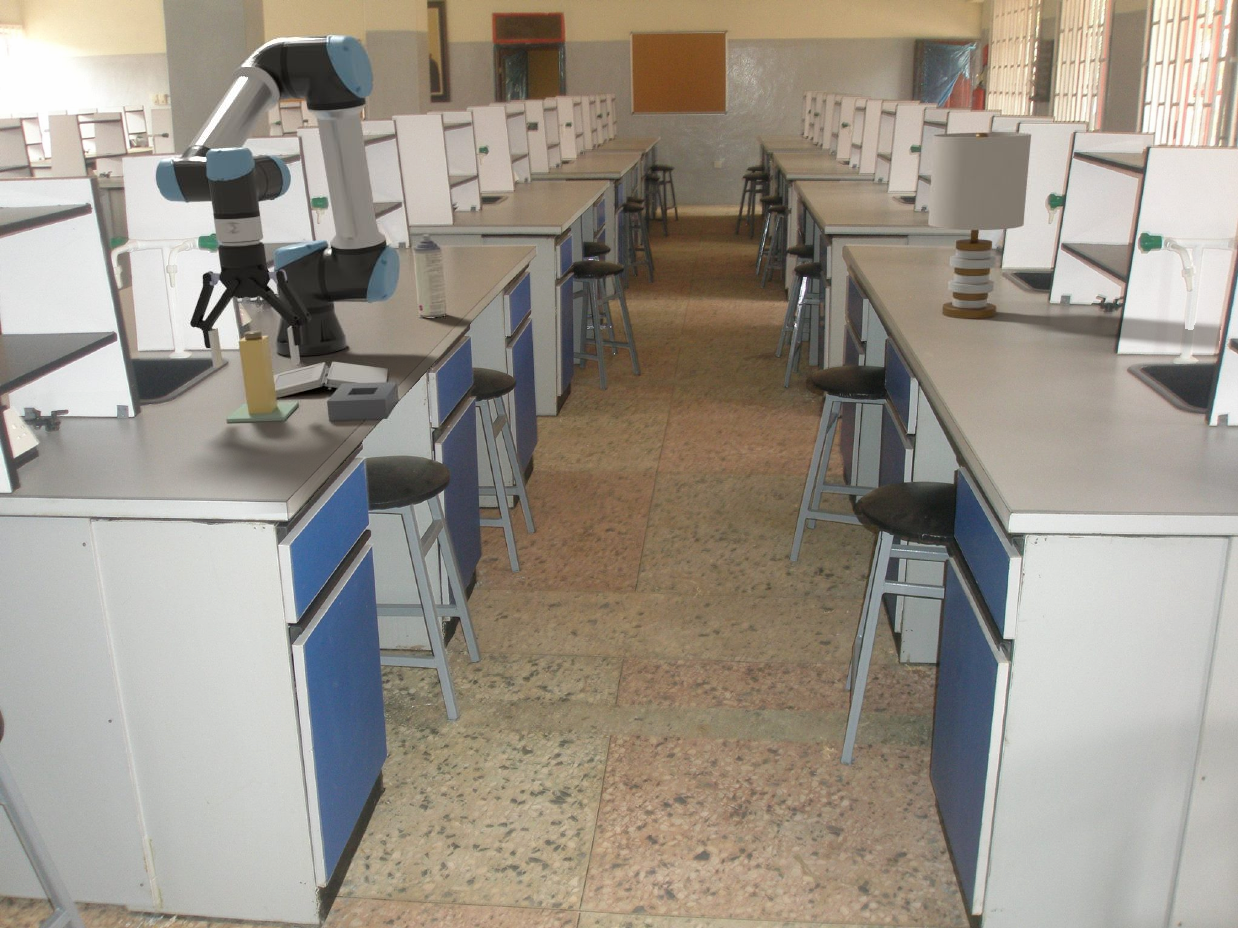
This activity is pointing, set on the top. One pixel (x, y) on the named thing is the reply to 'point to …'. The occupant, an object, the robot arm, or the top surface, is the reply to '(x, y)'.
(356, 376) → the gadget
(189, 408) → the top surface
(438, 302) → the aerosol can
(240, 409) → the mat
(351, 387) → the grey block with hole
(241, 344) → the plug
